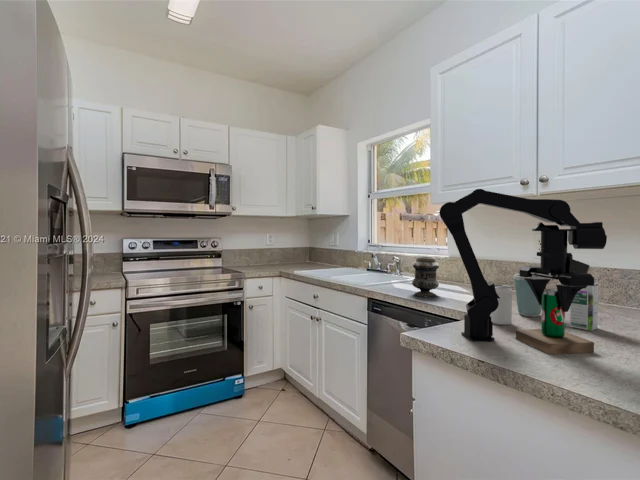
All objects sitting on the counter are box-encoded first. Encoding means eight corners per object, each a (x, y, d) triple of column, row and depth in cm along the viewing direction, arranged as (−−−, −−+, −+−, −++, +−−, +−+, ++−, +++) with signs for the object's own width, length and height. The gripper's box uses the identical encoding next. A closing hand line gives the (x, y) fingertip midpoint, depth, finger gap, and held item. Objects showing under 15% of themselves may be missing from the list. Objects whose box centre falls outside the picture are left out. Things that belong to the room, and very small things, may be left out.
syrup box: (569, 327, 106) (569, 280, 106) (576, 324, 109) (576, 279, 109) (591, 331, 101) (592, 282, 101) (598, 328, 105) (599, 281, 104)
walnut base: (548, 354, 83) (548, 343, 83) (515, 338, 95) (515, 329, 95) (593, 352, 84) (594, 342, 84) (555, 337, 96) (555, 328, 96)
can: (484, 321, 113) (485, 285, 113) (498, 319, 116) (499, 284, 115) (502, 326, 107) (502, 288, 107) (516, 324, 110) (516, 287, 109)
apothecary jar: (435, 298, 151) (436, 258, 151) (408, 296, 157) (409, 257, 157) (441, 294, 162) (441, 256, 161) (415, 292, 168) (415, 255, 167)
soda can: (542, 331, 93) (543, 287, 92) (565, 335, 89) (566, 289, 89) (539, 336, 89) (540, 290, 89) (563, 340, 86) (564, 292, 85)
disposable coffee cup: (505, 312, 125) (506, 271, 125) (527, 310, 129) (527, 270, 128) (532, 319, 115) (533, 275, 115) (554, 316, 119) (555, 273, 118)
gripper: (616, 250, 80) (615, 316, 81) (554, 246, 99) (553, 300, 99) (572, 250, 79) (571, 317, 80) (518, 247, 98) (517, 301, 98)
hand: (552, 308), depth 89 cm, fingers open, 8 cm apart
